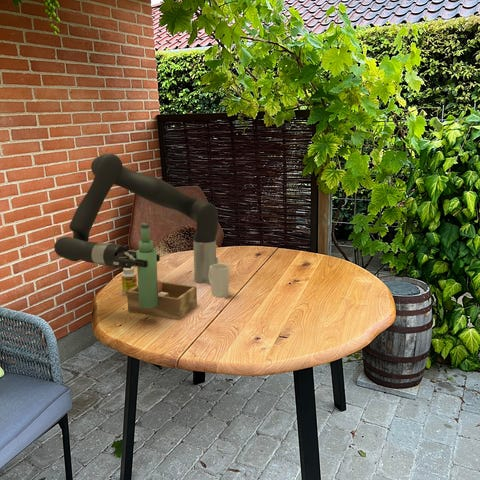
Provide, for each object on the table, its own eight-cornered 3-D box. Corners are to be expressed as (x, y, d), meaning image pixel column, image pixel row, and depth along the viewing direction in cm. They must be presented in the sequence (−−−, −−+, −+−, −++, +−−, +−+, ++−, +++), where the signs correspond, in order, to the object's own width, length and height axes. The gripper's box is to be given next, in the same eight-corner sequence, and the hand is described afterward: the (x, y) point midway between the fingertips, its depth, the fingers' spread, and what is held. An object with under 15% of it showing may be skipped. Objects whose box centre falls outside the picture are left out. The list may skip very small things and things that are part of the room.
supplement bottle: (125, 296, 167) (123, 271, 164) (120, 292, 171) (118, 267, 169) (139, 293, 170) (137, 268, 167) (134, 289, 174) (132, 265, 172)
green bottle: (155, 299, 147) (151, 220, 140) (160, 305, 142) (157, 224, 135) (136, 302, 144) (132, 222, 137) (142, 309, 139) (138, 226, 132)
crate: (149, 299, 164) (147, 277, 162) (197, 307, 157) (196, 284, 154) (128, 313, 152) (126, 288, 150) (179, 322, 145) (178, 296, 143)
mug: (232, 296, 167) (232, 266, 164) (218, 301, 163) (218, 270, 160) (215, 289, 174) (215, 260, 171) (202, 293, 170) (201, 264, 167)
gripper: (94, 249, 137) (139, 255, 131) (122, 238, 150) (165, 244, 144) (95, 272, 139) (140, 279, 133) (123, 259, 151) (165, 265, 145)
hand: (153, 261), depth 138 cm, fingers closed on green bottle, 6 cm apart
